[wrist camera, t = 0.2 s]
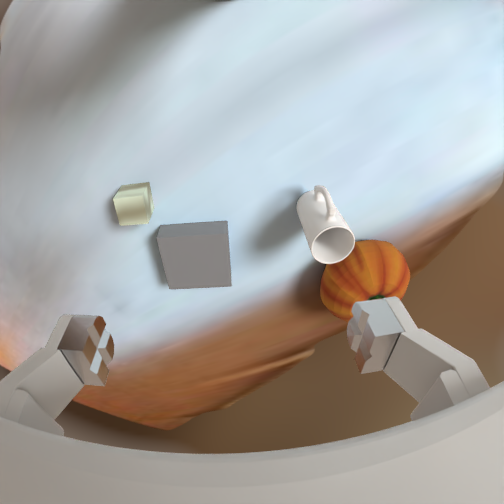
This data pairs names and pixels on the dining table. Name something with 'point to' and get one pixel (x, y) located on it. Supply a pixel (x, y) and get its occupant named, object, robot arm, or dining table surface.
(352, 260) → the pumpkin
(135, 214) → the cube
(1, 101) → the dining table surface
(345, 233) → the mug
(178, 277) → the riser block
